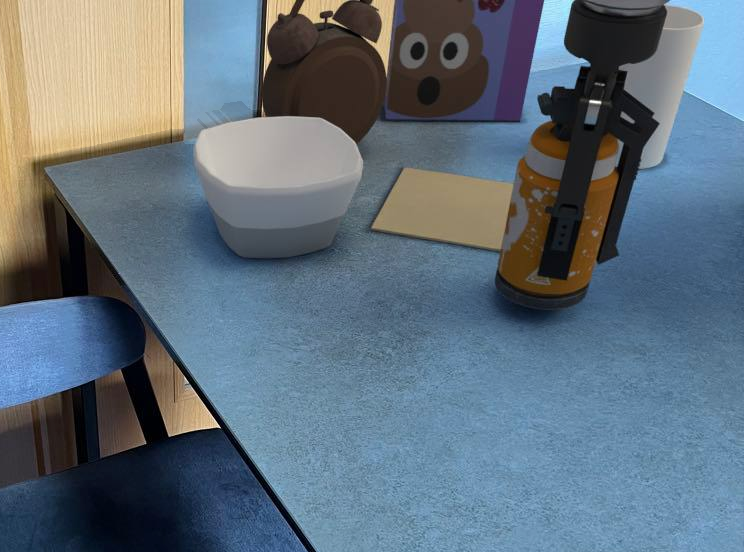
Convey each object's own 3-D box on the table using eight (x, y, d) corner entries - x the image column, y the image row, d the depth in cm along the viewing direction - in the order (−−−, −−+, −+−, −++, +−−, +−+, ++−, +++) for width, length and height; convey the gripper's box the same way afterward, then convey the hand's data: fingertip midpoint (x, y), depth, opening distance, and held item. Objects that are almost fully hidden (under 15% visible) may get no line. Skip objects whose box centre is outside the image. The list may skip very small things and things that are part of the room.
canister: (489, 266, 107) (527, 67, 93) (599, 270, 106) (654, 69, 92) (498, 314, 100) (540, 107, 86) (614, 318, 99) (677, 110, 85)
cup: (653, 174, 123) (696, 33, 112) (585, 160, 126) (620, 22, 115) (669, 148, 128) (711, 10, 117) (602, 135, 131) (637, 0, 120)
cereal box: (385, 120, 136) (408, -87, 119) (383, 106, 139) (404, -98, 122) (519, 121, 135) (561, -87, 118) (514, 107, 138) (554, -99, 121)
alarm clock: (353, 134, 133) (367, -37, 119) (382, 156, 128) (401, -20, 114) (252, 156, 129) (255, -18, 115) (279, 180, 124) (285, 1, 110)
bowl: (181, 204, 120) (178, 124, 113) (327, 187, 122) (333, 108, 116) (213, 282, 108) (212, 198, 101) (375, 262, 110) (385, 178, 103)
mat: (572, 194, 120) (573, 192, 120) (553, 260, 110) (554, 258, 109) (404, 169, 126) (404, 167, 125) (370, 230, 115) (370, 227, 115)
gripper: (587, -43, 92) (535, 196, 108) (556, 41, 78) (501, 302, 93) (676, -35, 90) (609, 207, 106) (660, 52, 76) (586, 317, 92)
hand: (558, 251), depth 100 cm, fingers closed on canister, 9 cm apart
